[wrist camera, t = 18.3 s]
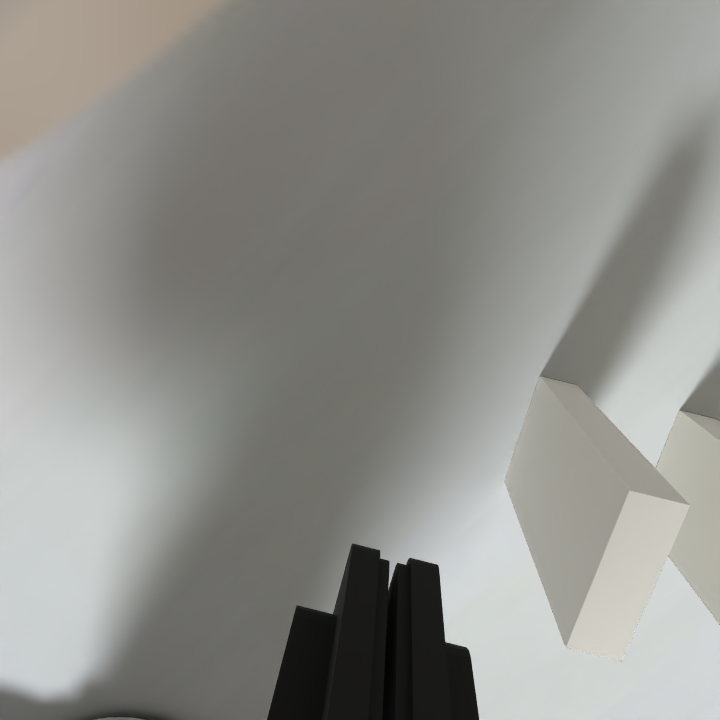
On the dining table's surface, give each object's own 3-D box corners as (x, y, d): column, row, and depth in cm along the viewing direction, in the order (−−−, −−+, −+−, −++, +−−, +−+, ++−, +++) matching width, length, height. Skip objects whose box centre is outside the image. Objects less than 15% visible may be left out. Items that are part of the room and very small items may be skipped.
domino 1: (504, 481, 26) (565, 647, 17) (539, 376, 25) (629, 490, 15) (539, 490, 26) (621, 661, 17) (576, 385, 25) (690, 505, 15)
